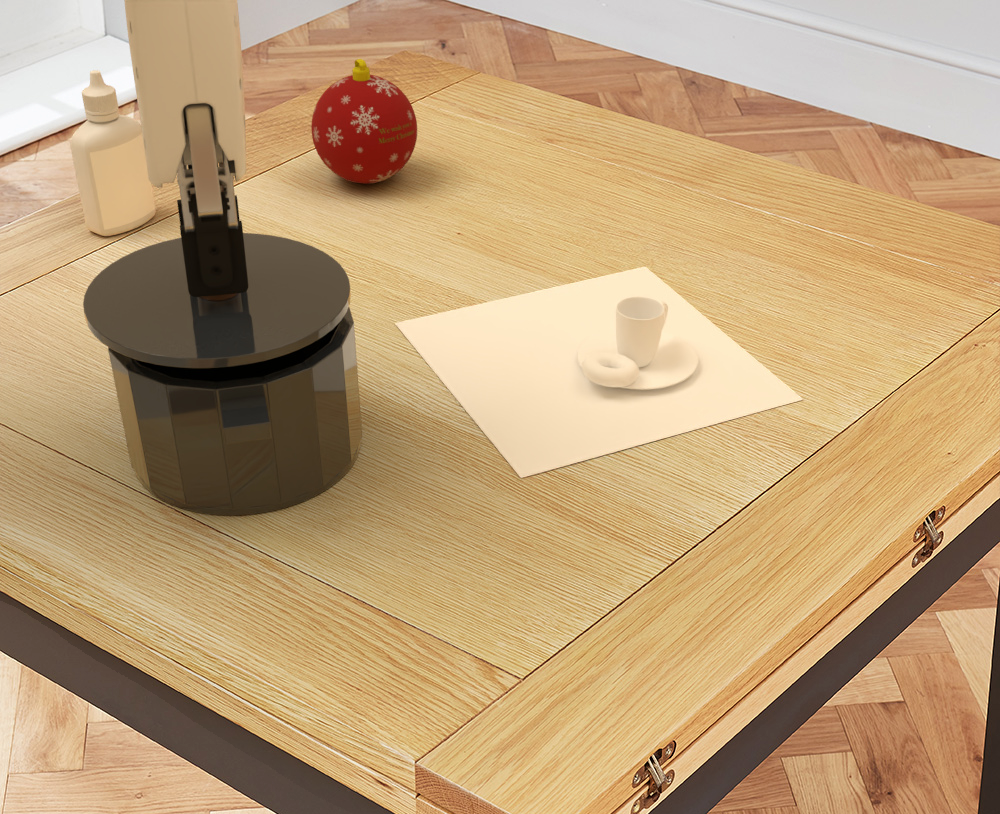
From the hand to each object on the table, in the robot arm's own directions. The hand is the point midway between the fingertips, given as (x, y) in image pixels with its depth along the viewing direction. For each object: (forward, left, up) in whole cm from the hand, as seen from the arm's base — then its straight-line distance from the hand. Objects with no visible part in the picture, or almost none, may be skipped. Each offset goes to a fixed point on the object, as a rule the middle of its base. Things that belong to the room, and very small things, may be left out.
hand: (216, 276), depth 75 cm
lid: (0, 0, -1) cm, 1 cm away
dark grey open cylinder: (0, 0, -12) cm, 11 cm away
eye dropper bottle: (-7, +33, -12) cm, 36 cm away
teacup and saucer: (+23, +5, -12) cm, 27 cm away
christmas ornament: (+13, +37, -12) cm, 41 cm away
